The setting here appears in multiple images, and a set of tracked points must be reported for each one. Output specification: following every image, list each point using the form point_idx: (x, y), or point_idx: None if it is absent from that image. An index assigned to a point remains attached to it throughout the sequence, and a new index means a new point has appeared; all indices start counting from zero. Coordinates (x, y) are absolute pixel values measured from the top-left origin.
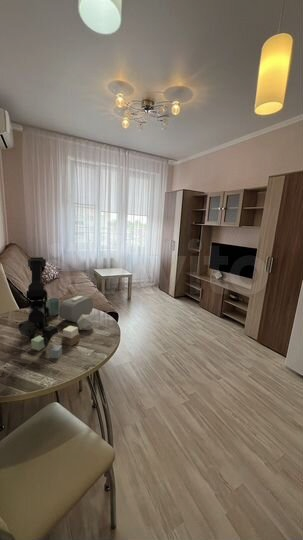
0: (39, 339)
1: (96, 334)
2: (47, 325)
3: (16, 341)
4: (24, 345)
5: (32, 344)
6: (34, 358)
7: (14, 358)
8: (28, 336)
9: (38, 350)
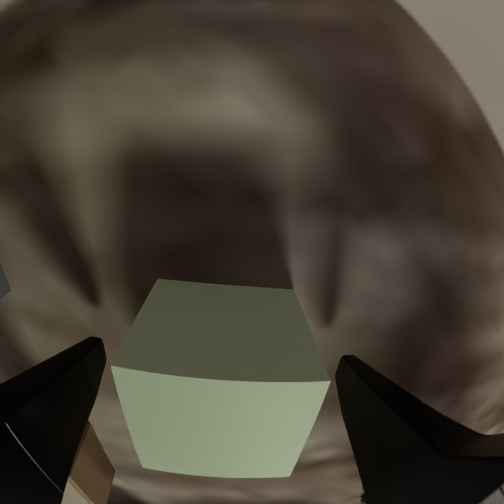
0: (180, 428)
1: None
2: (365, 498)
3: (490, 317)
4: (411, 303)
5: (284, 324)
6: (78, 116)
7: (323, 27)
8: (423, 411)
9: (165, 279)
